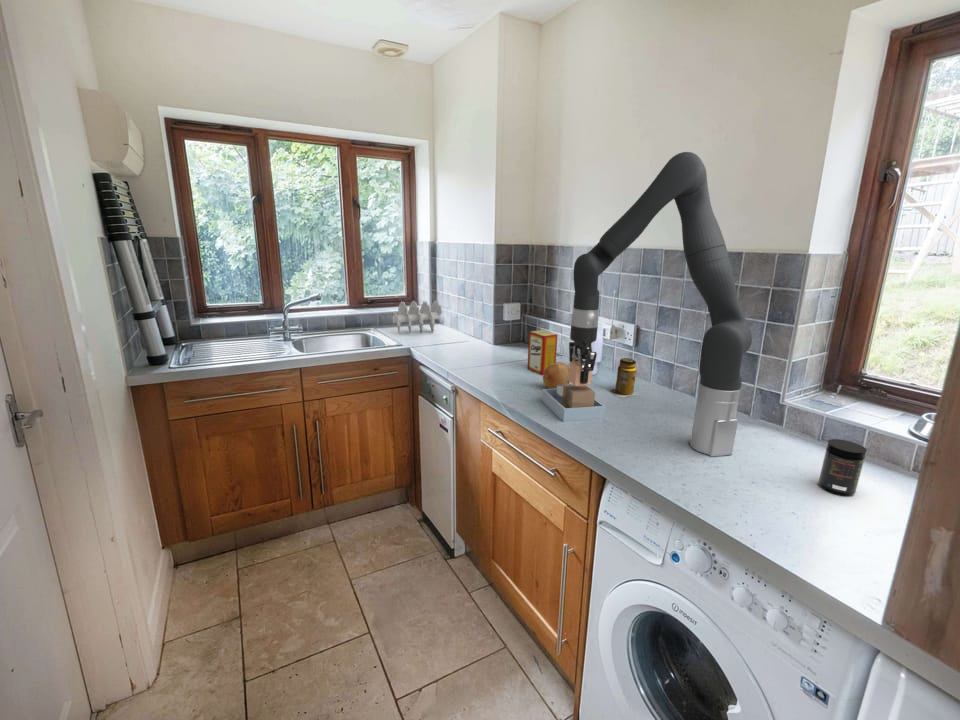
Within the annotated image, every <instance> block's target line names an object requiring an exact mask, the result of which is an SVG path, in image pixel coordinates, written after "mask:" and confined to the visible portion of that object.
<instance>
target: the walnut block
mask: <svg viewBox="0 0 960 720" xmlns="http://www.w3.org/2000/svg"><path fill="white" fill-rule="evenodd" d="M594 399H596V392H595V391H594V390H593V389H591V388H590V387H589V386H588V385H582V386H575V385H571V386H563V398H562V406H563V407H564V408H579V407H593V406H594Z"/></svg>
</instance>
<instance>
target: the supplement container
mask: <svg viewBox="0 0 960 720" xmlns="http://www.w3.org/2000/svg"><path fill="white" fill-rule="evenodd" d="M867 451H868V450H867V448H866V447H864V446H863V445H861V444H859V443H856V442H853V441H849V440H845V439H841V438H840V439H839V438H831V439H828V440H827V443H826V447H825V452H824V456H823V461H822V465H821V469H820V474H819V478H818V481H817V482H818V484H819V486H820V487H821V488H822V489H823V490H824V491H826V492H829V493H832V494H834V495H837V496H842V497H850V496H853V495H854V494H856V492H857V489H858V485H859V482H860V477H861V473H862V470H863V465H864V461H865V459H866V456H867V455H866V454H867Z"/></svg>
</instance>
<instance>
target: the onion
mask: <svg viewBox="0 0 960 720" xmlns="http://www.w3.org/2000/svg"><path fill="white" fill-rule="evenodd" d="M568 377H569V367H568V366H567V365H566V364H564V363H563V362H560V361H559V362H557V361H556V363H553V364H551V365H549V366H548V367H547V368H546V369H545V371H544V374H543V375H542V380H543V383H544V386H545V387H546V388H547V389H555V388H557V385H558V384H563V383H567V384H570V382H569V381H568Z"/></svg>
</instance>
